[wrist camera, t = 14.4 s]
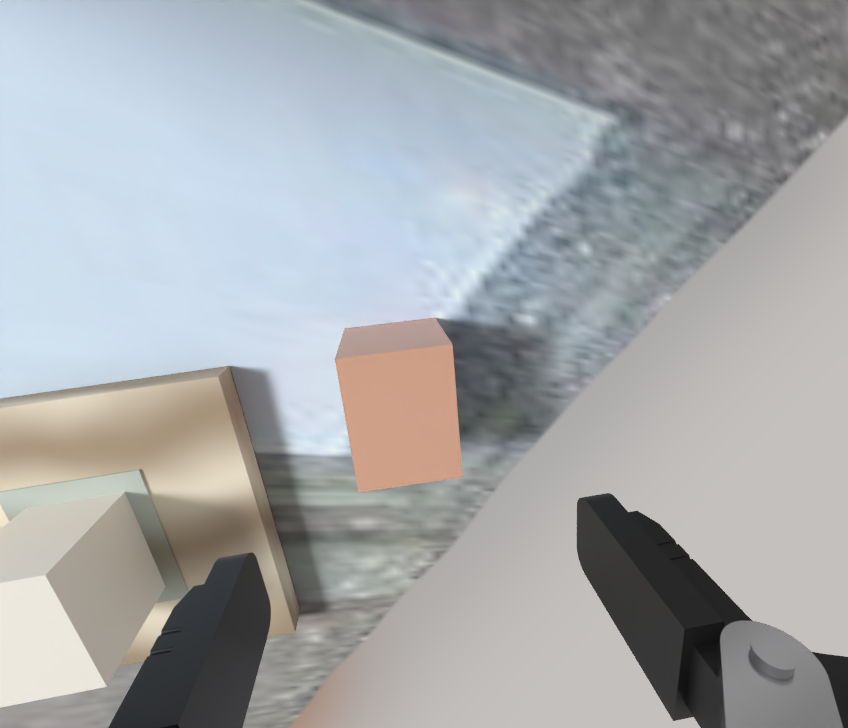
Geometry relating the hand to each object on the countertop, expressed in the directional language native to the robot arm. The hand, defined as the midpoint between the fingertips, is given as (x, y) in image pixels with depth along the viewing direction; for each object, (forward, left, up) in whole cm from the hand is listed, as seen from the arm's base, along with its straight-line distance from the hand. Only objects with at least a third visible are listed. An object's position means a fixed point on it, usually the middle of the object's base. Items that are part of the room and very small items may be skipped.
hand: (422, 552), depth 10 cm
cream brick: (+6, -16, -10) cm, 20 cm away
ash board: (+6, -16, -12) cm, 21 cm away
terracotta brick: (0, 0, -12) cm, 12 cm away
